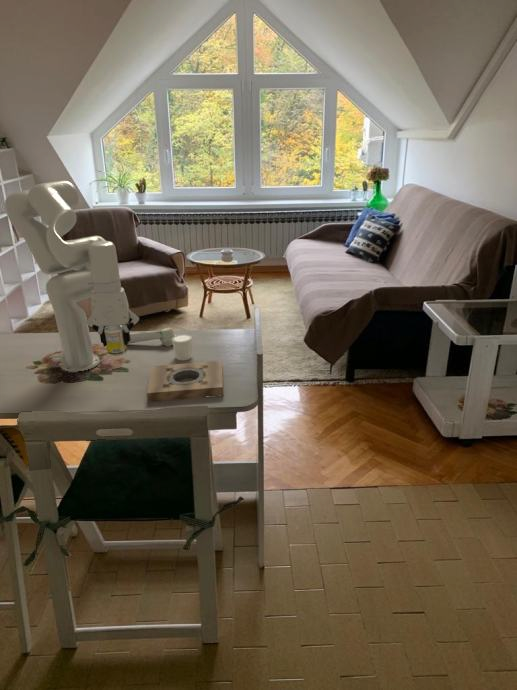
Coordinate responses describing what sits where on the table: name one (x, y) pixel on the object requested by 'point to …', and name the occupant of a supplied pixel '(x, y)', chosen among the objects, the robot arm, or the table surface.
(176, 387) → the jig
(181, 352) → the beige cylinder
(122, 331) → the supplement bottle
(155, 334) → the grey elongated piece
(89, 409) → the table surface
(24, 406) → the table surface
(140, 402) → the table surface
